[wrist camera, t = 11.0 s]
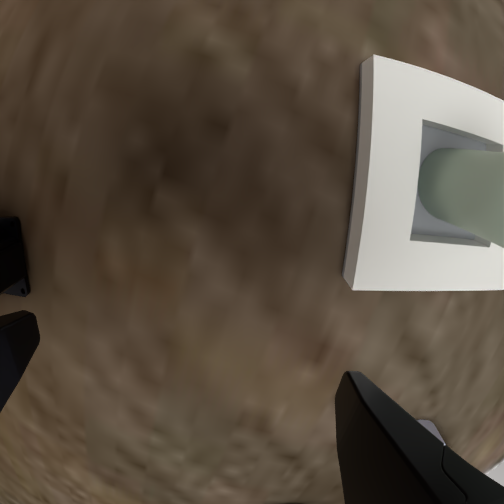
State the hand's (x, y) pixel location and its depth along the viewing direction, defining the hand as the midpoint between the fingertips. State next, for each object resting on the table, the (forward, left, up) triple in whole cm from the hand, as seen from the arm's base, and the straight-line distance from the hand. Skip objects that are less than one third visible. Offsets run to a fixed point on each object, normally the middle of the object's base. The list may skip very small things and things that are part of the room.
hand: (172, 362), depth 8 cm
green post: (+15, +5, -12) cm, 20 cm away
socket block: (+15, +5, -13) cm, 20 cm away
